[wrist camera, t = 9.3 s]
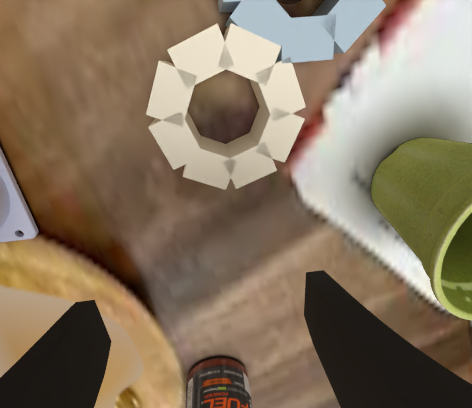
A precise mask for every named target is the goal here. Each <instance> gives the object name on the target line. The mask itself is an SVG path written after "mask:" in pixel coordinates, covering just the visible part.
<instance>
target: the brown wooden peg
mask: <svg viewBox="0 0 472 408" xmlns="http://www.w3.org/2000/svg"><path fill="white" fill-rule="evenodd" d="M278 1H279V2H281V3H284V4H294V3H297V2H299V1H301V0H278Z"/></svg>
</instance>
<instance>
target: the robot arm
mask: <svg viewBox="0 0 472 408" xmlns="http://www.w3.org/2000/svg"><path fill="white" fill-rule="evenodd" d="M18 230H19V231H22V232H23V233H24V234H21V233H20V232H19V231H18ZM37 234H38V228H37V226H36V224H35V222H34V219H33V217H32V215H31V213H30V211H29V209H28V206H27V204H26V202H25V200H24V198H23V195H22V193H21V191H20V189H19V187H18V185H17V182H16V180H15V178H14V176H13V174H12V172H11V169H10V167H9V165H8V163H7V161H6V158H5V156H4V154H3V152H2V150H1V148H0V242H9V241H17V240H26V239H32V238H34V237H35V236H36V235H37ZM304 316H305V319H306V323H307V326H308V329H309V332H310V336H311V339H312V342H313V345H314V347H315V349H316V352H317V354H318V356H319V359H320V361H321V363H322V365H323V368H324V370H325V372H326V375H327V377H328V379H329V381H330V384H331V386H332V388H333V391H334V393H335V395H336V397H337V400H338V402H339V404H340V406H341V408H472V384H470V383H468V382H467V381H465V380H464V379H462V378H460V377H459V376H457V375H456V374H454V373H453V372H451V371H449V370H448V369H446V368H445V367H443V366H442V365H440V364H439V363H438V362H436V361H435V360H433V359H432V358H430V357H429V356H427V355H426V354H424V353H423V352H421V351H420V350H418V349H417V348H416V347H414V346H413V345H412V344H410V343H409V342H408V341H406V340H405V339H404V338H402V337H401V336H400V335H398V334H397V333H396V332H394V331H393V330H392V329H391V328H389V327H388V326H387V325H386V324H384V323H383V322H382V321H381V320H379V319H378V318H377V317H376V316H375V315H373V314H372V313H371V312H370V311H369V310H367V309H366V308H365V307H364V306H363V305H361V304H360V303H359V302H358V301H357V300H356V299H355V298H353V297H352V296H351V295H350V294H349V293H348V292H347V291H346V290H345V289H343V288H342V287H341V286H340V285H339V284H338V283H337V282H336V281H335V280H334V279H333V278H331V277H330V276H329V275H328V274H327V273H326V272H325V271H315V272H307V273H306V287H305V307H304ZM110 346H111V339H110V337H109V335H108V332H107V330H106V327H105V325H104V322H103V320H102V317H101V315H100V312H99V310H98V307H97V305H96V303H95V300H90V301H82V302H76V303H75V304H74V305H73V306H71V307H70V308H69V310H68V311H66V312H65V313H64V315H62V317H61V318H60V319H59V320H58V321H57V322H56V323H55V324H54V325H53V326H52V327H51V328H50V329H49V330H48V331H47V332H46V333H45V334H44V335H43V336H42V337H41V338H40V339H39V340H38V341H37V342H36V343H35V344H34V345H33V346H32V347H31V348H30V349H29V350H28V351H27V352H26V353H25V354H24V355H23V356H22V357H21V358H20V359H19V360H18V361H17V362H16V363H15V364H14V365H13V366H12V367H11V368H10V369H9V370H8V371H7V372H6V373H5V374H4V375H3V376H2V377H1V378H0V408H94V406H95V403H96V400H97V396H98V393H99V390H100V387H101V384H102V381H103V378H104V375H105V370H106V366H107V361H108V356H109V351H110Z"/></svg>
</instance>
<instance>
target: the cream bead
mask: <svg viewBox="0 0 472 408" xmlns="http://www.w3.org/2000/svg"><path fill="white" fill-rule="evenodd" d="M247 32H248V33H247ZM245 33H246V34H245ZM250 33H251V32H249V31H247V30H245V29H243V28H241V27H238V26H236V25H234V24H232V23H231V24H230V25H229V26H228V28H227V29H226V31H225V34H224V37H223V36H222V33H221V31H220V28H219V26H218V24H215V25H213V26H212V27H210V28H208V29H206V30H204V31H202V32H200V33H198V34H196V35H194V36H192V37H191V38H189V39H187V40H185V41H183V42H181V43H179V44H177V45H175V46H173V47H171V48H170V49H168V50H167V51H168V53H169V55H170V57H171V59H172V61H173V63H174V64H173V63H170V62H168V61H159V62H158V66H157V71H156V75H155V79H154V83H153V88H152V92H151V96H150V100H149V104H148V109H147V113H146V115H149V116H151V117H154V118H155V119H154V120H153V122H152V123H151V124H150V125H149V127H148V128H149V129H150V131H151V133H152V134H153V136H154V138H155V139H156V141H157V143H158V145H159V146H160V148H161V150H162V151H163V153H164V155H165V156H166V158H167V160H168V161H169V163H170V165H171V166H172V168H173V170H175V169H177V168H179V167H181V166H183V165H184V171H183V177H185V178H188V179H191V180H195V181H198V182H201V183H205V184H208V185H211V186H215V187H218V188H221V189H225V190H226V188H227V186H228V183H229V180H230V178H231V179H232V181H233V183H234V185H235V187H236V189H238V188H240V187H242V186H244V185H246V184H249V183H251V182H253V181H255V180H257V179H260V178H262V177H264V176H266V175H268V174H270V173H273V172H275V171H277V169H276V167H275V164H274V162H273V159H275V160H278V161H281V162H284V163H285V161H286V159H287V157H288V155H289V152H290V150H291V148H292V146H293V144H294V141H295V139H296V137H297V135H298V133H299V131H300V128H301V126H302V124H303V122H304V120H305V119H304V118H302V117H300V116H299V115H297V114H295V113H294V112H296V111H298V110H300V109H302V108H305V107H306V106H305V103H304V100H303V96H302V93H301V90H300V87H299V84H298V80H297V77H296V74H295V71H294V68H293V64H292V63H291V62H290V61H288V60H289V58H288V60H286V59H287V58H286V59H285V61H284V60H282V61H283V62H284V63H283V62H282V61H276V59H277V57H278V54H279V52H280V49H281V47H282V46H280V45H277V44H275V43H273V42H271V41H269V40H267V39H264V38H262V37H260V36H258V35H256V34H254V33H251V34H250ZM252 37H253V38H252ZM290 60H291V58H290ZM286 61H288V62H289V63H288V62H287V63H285V62H286ZM282 63H283V64H282ZM224 70H228V71H230V72H233V73H235V74H238V75H240V76H242V77H245V78H247V79H249V81H250V83H251V86H252V88H253V91H254V93H255V96H256V99H257V101H258V104H259V106H260V107H259V109H258V112H257V114H256V117H255V119H254V122H253V125H252V127H251V130H250V132H249V133H247V134H245V135H243V136H241V137H239V138H237V139H235V140H233V141H231V142H229V143H227V144H224V143H221V142H218V141H215V140H212V139H210V138H207V137H204V136H201V135H200V134H199V132H198V130H197V128H196V126H195V124H194V122H193V120H192V118H191V116H190V114H189V112H188V111H187V109H188V106H189V102H190V99H191V96H192V92H193V89H194V85H196V84H198V83H200V82H202V81H204V80H206V79H208V78H210V77H212V76H214V75H216V74H218V73H220V72H222V71H224ZM272 158H273V159H272Z"/></svg>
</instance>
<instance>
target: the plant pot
mask: <svg viewBox="0 0 472 408" xmlns="http://www.w3.org/2000/svg"><path fill="white" fill-rule="evenodd" d="M371 196H372V200H373V202H374V204H375V206H376V207H377V209H378V210H379V211H380V213H381V214H382V215H383V216H384V217H385V218H386V219H387V221H388V222H389V223H390V224H391V225H392V227H393V228H394V229H395V230H396V231H397V233H398V234H399V235H400V236H401V238H402V239H403V240H404V241H405V242H406V244H407V245H408V246H409V247H410V249H411V250H412V251H413V252H414V253H415V255H416V256H417V257H418V258H419V260H420V261H421V262H422V265H423V268H424V270H425V272H426V274H427V275H428V277H429V278H430V283H431V287H432V290H433V293H434V295H435V297H436V298H437V300H438V301H439V302H440V304H441V305H442V306H443V307H444V308H445V309H446V310H448V311H449V312H450V313H452V314H453V315H455V316H458V317H460V318H463V319H467V320H472V143H465V142H458V141H451V140H443V139H435V138H417V139H413V140H410V141H407V142H405V143H403V144H401V145H400V146H398V148H397V149H396V150H395V151H394V152H393V153H392V154H391V155H390V156H389V157H387V158H386V159H385V160H383V161H382V162H381V163H380V164H379V166H378V168H377V169H376V172H375V174H374V176H373V180H372V185H371Z"/></svg>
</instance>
